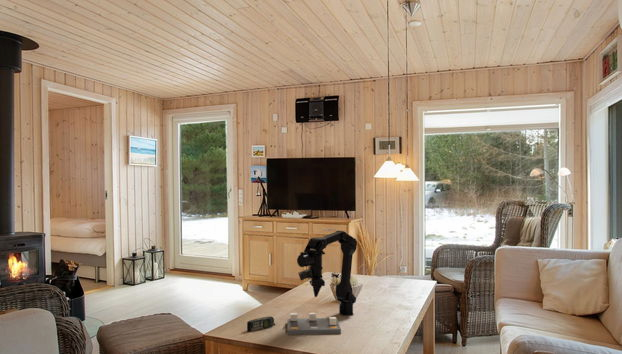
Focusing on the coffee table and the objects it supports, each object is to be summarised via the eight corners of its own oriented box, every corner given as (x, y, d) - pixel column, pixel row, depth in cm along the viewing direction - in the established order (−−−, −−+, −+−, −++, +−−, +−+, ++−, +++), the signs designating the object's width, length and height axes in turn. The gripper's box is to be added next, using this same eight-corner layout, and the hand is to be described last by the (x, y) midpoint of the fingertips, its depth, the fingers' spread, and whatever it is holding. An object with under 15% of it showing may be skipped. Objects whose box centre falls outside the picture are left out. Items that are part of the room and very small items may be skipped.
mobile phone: (248, 322, 195) (277, 315, 203) (245, 320, 197) (274, 313, 206) (249, 333, 195) (277, 326, 203) (246, 331, 197) (274, 324, 206)
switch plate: (336, 322, 209) (336, 317, 209) (340, 333, 193) (340, 329, 193) (287, 322, 208) (287, 318, 208) (287, 334, 192) (287, 330, 192)
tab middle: (315, 318, 207) (315, 312, 207) (315, 320, 205) (315, 314, 205) (309, 319, 207) (309, 312, 207) (309, 320, 204) (309, 314, 204)
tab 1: (296, 319, 206) (296, 313, 206) (296, 320, 204) (296, 314, 204) (290, 319, 206) (290, 313, 206) (290, 320, 204) (290, 314, 204)
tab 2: (335, 323, 200) (335, 316, 201) (336, 325, 198) (336, 318, 198) (329, 323, 200) (329, 317, 200) (329, 325, 198) (329, 318, 198)
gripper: (297, 261, 215) (297, 292, 214) (301, 268, 196) (300, 302, 196) (319, 260, 216) (319, 291, 216) (325, 268, 197) (324, 302, 197)
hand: (315, 296), depth 206 cm, fingers closed
